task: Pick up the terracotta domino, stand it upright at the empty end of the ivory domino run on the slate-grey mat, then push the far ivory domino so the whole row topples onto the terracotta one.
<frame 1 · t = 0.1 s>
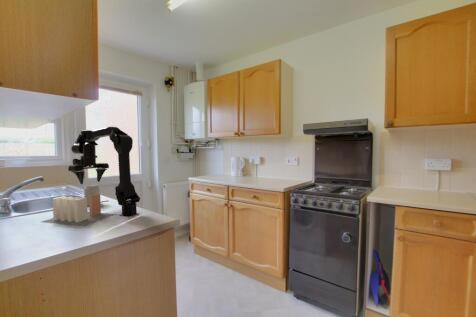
hand: (90, 182, 124), 15 cm above the worktop, tool pointing down, fingers open, 9 cm apart
terracotta domino: (95, 214, 113), point 1 cm above the worktop, touching mat
can: (92, 205, 133), on the worktop
domino 3: (74, 219, 105), point 1 cm above the worktop, touching mat
domino 4: (81, 220, 104), point 1 cm above the worktop, touching mat
mat: (80, 219, 108), on the worktop
domino 1: (60, 218, 107), point 1 cm above the worktop, touching mat
domino 2: (67, 219, 106), point 1 cm above the worktop, touching mat
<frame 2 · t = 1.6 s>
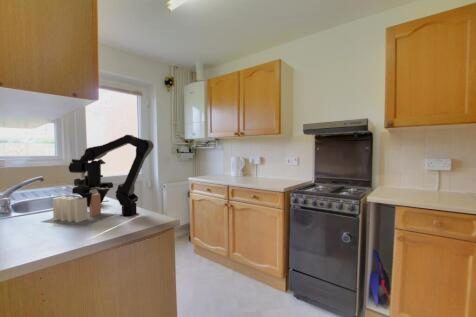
hand: (94, 204, 113), 6 cm above the worktop, tool pointing down, fingers open, 7 cm apart
domino 3: (74, 219, 105), point 1 cm above the worktop, touching gripper, mat
domino 4: (81, 220, 104), point 1 cm above the worktop, touching gripper, mat
everything else where it was.
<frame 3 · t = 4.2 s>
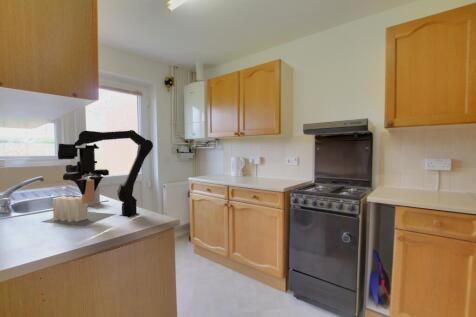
hand: (88, 193, 104), 13 cm above the worktop, tool pointing down, fingers closed on terracotta domino, 5 cm apart
terracotta domino: (88, 202, 104), point 9 cm above the worktop, touching gripper
domino 3: (74, 219, 105), point 1 cm above the worktop, touching mat
domino 4: (81, 220, 104), point 1 cm above the worktop, touching mat
everything else where it was.
when the fingers open (6 cm above the worktop, at t = 6.4 s): terracotta domino stays where it is, resting on mat.
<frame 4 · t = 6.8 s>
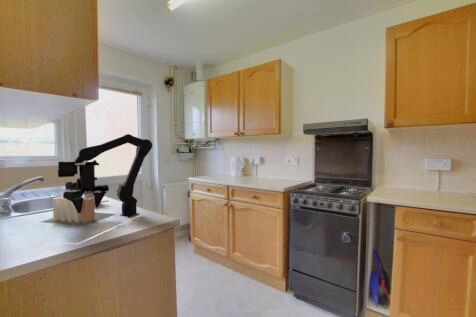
hand: (88, 210, 103), 6 cm above the worktop, tool pointing down, fingers open, 9 cm apart
terracotta domino: (88, 221, 104), point 1 cm above the worktop, touching mat
everything else where it was.
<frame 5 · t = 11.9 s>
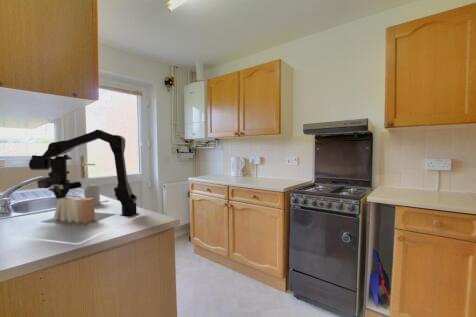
hand: (60, 203, 107), 8 cm above the worktop, tool pointing down, fingers closed
domino 1: (60, 218, 107), point 1 cm above the worktop, tilted 17°, touching domino 2, mat
domino 2: (67, 219, 106), point 1 cm above the worktop, touching domino 1, mat
everything else where it was.
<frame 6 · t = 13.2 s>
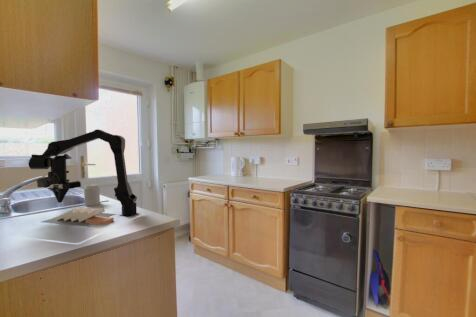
hand: (60, 202, 107), 8 cm above the worktop, tool pointing down, fingers closed
terracotta domino: (90, 219, 103), point 1 cm above the worktop, tilted 90°, touching domino 4, mat
domino 3: (76, 218, 105), point 1 cm above the worktop, tilted 66°, touching domino 2, domino 4, mat
domino 4: (83, 218, 104), point 1 cm above the worktop, tilted 66°, touching domino 3, terracotta domino
domino 1: (61, 217, 107), point 1 cm above the worktop, tilted 67°, touching domino 2, mat
domino 2: (68, 217, 106), point 1 cm above the worktop, tilted 66°, touching domino 1, domino 3, mat
everything else where it was.
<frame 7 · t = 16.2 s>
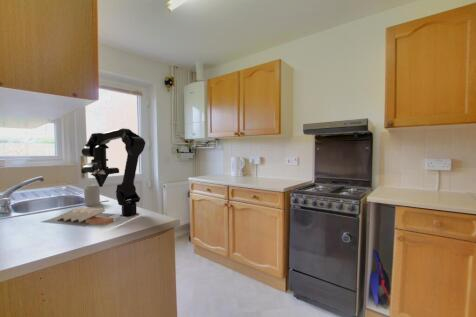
hand: (100, 186, 121), 13 cm above the worktop, tool pointing down, fingers closed
nothing on the worktop moved.
at the end: terracotta domino tilted 90°; domino 1 tilted 67°; terracotta domino inside the target area (1.1 cm from its centre), point 1.4 cm above the worktop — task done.
